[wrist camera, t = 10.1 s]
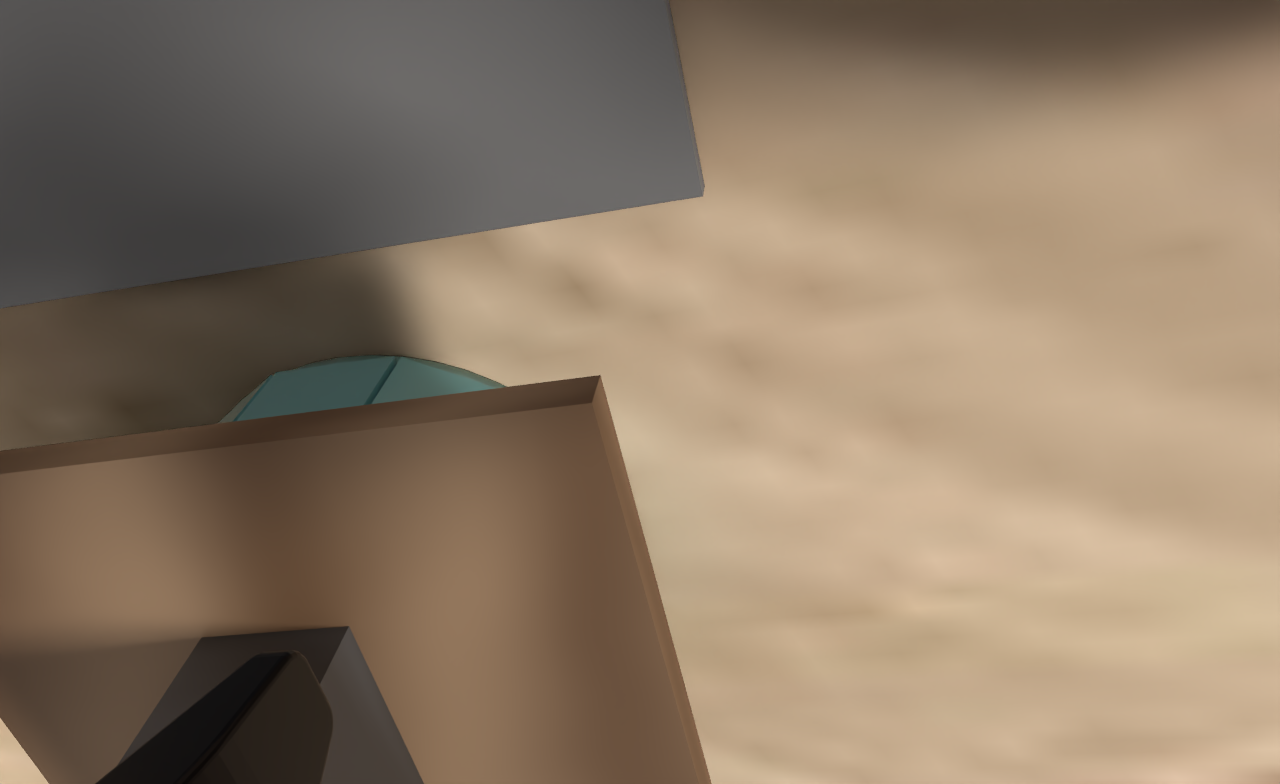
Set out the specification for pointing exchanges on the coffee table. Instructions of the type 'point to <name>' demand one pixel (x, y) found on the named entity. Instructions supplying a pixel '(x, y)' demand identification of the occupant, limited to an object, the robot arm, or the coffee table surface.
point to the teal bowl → (354, 385)
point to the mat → (319, 129)
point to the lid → (351, 590)
